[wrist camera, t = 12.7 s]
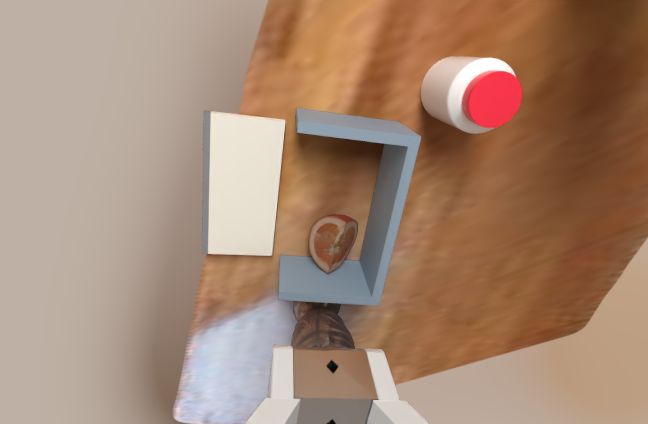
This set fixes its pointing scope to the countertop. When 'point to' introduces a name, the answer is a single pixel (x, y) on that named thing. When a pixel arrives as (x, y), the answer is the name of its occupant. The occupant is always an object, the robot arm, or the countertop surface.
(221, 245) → the white rectangular panel
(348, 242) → the fruit slice
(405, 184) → the crate
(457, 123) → the pill bottle
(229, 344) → the countertop surface
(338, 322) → the mortar and pestle
